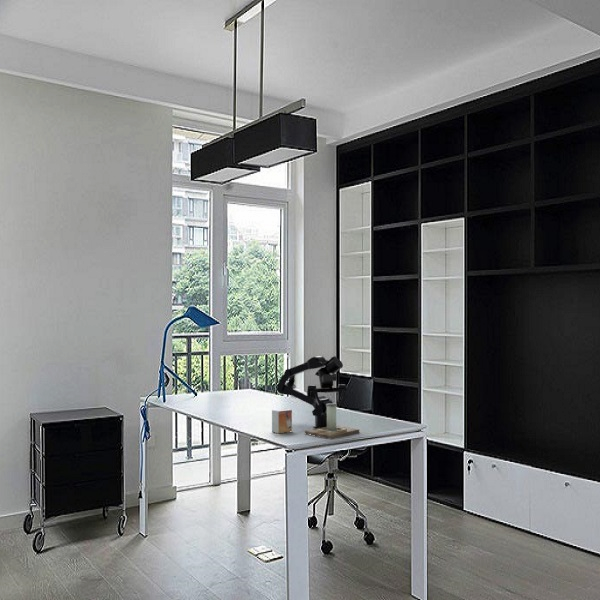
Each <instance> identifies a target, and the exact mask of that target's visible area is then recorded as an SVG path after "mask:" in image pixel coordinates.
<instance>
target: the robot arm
mask: <svg viewBox="0 0 600 600" xmlns="http://www.w3.org/2000/svg"><path fill="white" fill-rule="evenodd" d="M343 367H344V364H343V362H342V361H341V360H340V359H339V358H338V357H337V356H335V355H334V356H332V357H330V359H329V360H328V359H326V358H325V357H324V356H323V355H318V356H312V357H311V358H309V359H307V360H306V362H304V363H302V364H299V365H295V366H292V367H290V368H287V369H285V371H284V372H283V375H282V376H281V377H280V379H279V380H278V383H277V386H276V389H277V390H276V391H277V392H278V393H279V394H281V395H286V396H292V397H294V398H295V399H297V400H300V401H302V402H304V403H307V404H308V405H311V406H312V407H313V408H314V409H313V410H312V411H311V413H312V416H314V419H315V421H314V426H312V428H313V429H317V428H323V427H327V406H326V404H329V403H333V401H332V400H331V398H328V397H326V396H325V395H322V396H319V395H318V394H319V393H326V394H327V393H337V406H340V403H341V399H342V398H343V397H344V396H347V392H348V385H346V384H342V383H341V384H338V385H337V387H333V386H334V382H337V380H338V376H337V372H338V371H340V370H341V369H342V368H343ZM314 369H318V370H317V371H316V372H315V376H317V377H318V379H319V387H317V385H316V384H315V385H313V384H310V385H308V386H307V388H306V390H307V391H304V390H302V389H299V388H298V387H297V386H296V385H295V382H296V380H295V376H297V375H299V374H302V373H304V372H307V371H310V370H314Z"/></svg>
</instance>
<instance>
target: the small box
mask: <svg viewBox="0 0 600 600" xmlns="http://www.w3.org/2000/svg"><path fill="white" fill-rule="evenodd" d="M292 429H293V410H292V409H288V408H281V409H280V408H279V409H272V410H271V433H274V432H275V434H278V433H279V434H285V433H284V432H287V433H291V432H290V431H292V432H293V430H292Z"/></svg>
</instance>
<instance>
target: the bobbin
mask: <svg viewBox="0 0 600 600" xmlns="http://www.w3.org/2000/svg"><path fill="white" fill-rule="evenodd" d="M326 406H327V429H325V430H326V431H337V430H339V429H336V426H337V406H338V403H329V404H326Z"/></svg>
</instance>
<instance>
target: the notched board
mask: <svg viewBox="0 0 600 600" xmlns="http://www.w3.org/2000/svg"><path fill="white" fill-rule="evenodd" d="M325 429H327V427H323V428H313V429H308V430H305V431H304V434H305V433H306V434H305V435H307V434H311V435H310V436H312V435H315V436H314V437H317V436H320V437H319V438H322V437H326V438H325V439H327V438H332V439H337V438H341V437H345V436H350V435H355V434H360V429H359V428H353V427H347V426H341V425H336V429H339V430H337V431H326V430H325Z"/></svg>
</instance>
